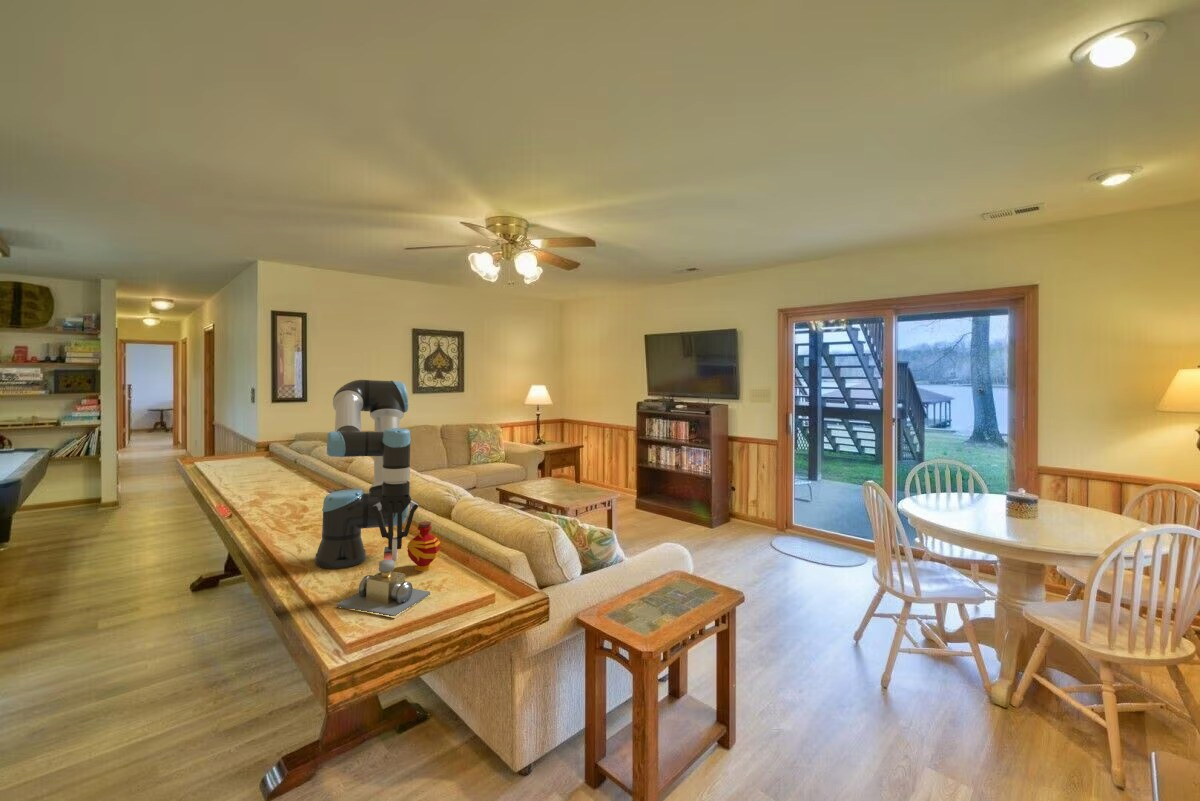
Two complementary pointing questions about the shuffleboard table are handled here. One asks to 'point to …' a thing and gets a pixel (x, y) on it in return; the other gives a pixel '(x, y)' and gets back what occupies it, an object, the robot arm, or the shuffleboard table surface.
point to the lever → (387, 561)
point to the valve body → (386, 588)
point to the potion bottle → (423, 547)
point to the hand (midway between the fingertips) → (394, 559)
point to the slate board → (390, 609)
